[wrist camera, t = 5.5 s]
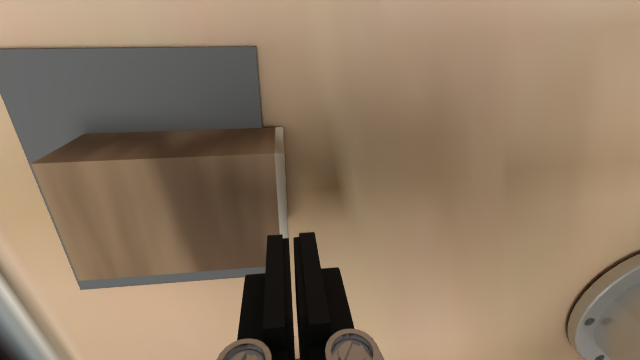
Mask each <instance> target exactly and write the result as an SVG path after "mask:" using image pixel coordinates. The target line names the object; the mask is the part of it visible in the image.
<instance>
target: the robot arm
mask: <svg viewBox="0 0 640 360" xmlns="http://www.w3.org/2000/svg"><path fill="white" fill-rule="evenodd" d="M294 262H295V287H296V307H297V322H298V337H299V351H300V360H384V358H383V356H382V354H381V352H380V350H379V348H378V346H377V344H376V343H375V341H374V340H373V338H372V337H370V336H369V335H368V334H367V333H365V332H363V331H360V330H357V329H354V325H353V321H352V317H351V313H350V309H349V305H348V301H347V297H346V293H345V289H344V285H343V281H342V277H341V273H340V270H339V268H325V269H321V266H320V261H319V255H318V250H317V244H316V238H315V233H314V232H309V233H299V237H295V238H294ZM568 338H569V341H570V344H571V345H572V346H573V347H574V349H575V350H576V351H577V352H578V353H579V354H580V355H581V356H582V357H583V358H584V359H585V360H640V254H638V255H635V256H633V257H631V258H629V259H627V260H625V261H623V262H621V263H620V264H618V265H617V266H615V267H614V268H612V269H611V270H609V271H607V272H606V273H605V274H604V275H602V276H601V277H600V278H599V279H598V280H596V281H595V282H594V283H593V284H592V285H591V286H590V287H589V288H588V289H587V290H586V291H585V293H584V294H583V295H582V296H581V298H580V299H579V301H578V302H577V303H576V305H575V307H574V309H573V311H572V313H571V315H570V319H569V323H568ZM217 360H295V351H294V329H293V310H292V291H291V272H290V253H289V238H283V234H279V235H267V249H266V270H265V273H261V274H248V275H246V276H245V282H244V290H243V298H242V306H241V314H240V322H239V330H238V338H237V341H235V342H233V343H231V344H230V345H228V346H227V347H226V348H225V349H224V350H223V351H222V352H221V353H220V354H219V356H218V358H217Z"/></svg>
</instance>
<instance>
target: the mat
mask: <svg viewBox="0 0 640 360" xmlns="http://www.w3.org/2000/svg"><path fill="white" fill-rule="evenodd" d="M0 94H1V96H2V99H3V101H4V104H5V106H6V109H7V111H8V113H9V116H10V118H11V121H12V123H13V126H14V128H15V131H16V133H17V135H18V138H19V140H20V143H21V145H22V148H23V150H24V153H25V155H26V157H27V160H28V162H29V165H30V167H31V170H32V172H33V175H34V177H35V179H36V182H37V184H38V187H39V189H40V192H41V194H42V197H43V199H44V202H45V204H46V206H47V209H48V211H49V214H50V216H51V219H52V221H53V224H54V226H55V228H56V231H57V233H58V236H59V238H60V241H61V243H62V246H63V248H64V250H65V253H66V255H67V258H68V260H69V263H70V265H71V268H72V270H73V272H74V275H75V277H76V280H77V282H78V285H79V287H80V290H84V289H97V288H110V287H123V286H136V285H149V284H162V283H175V282H187V281H200V280H213V279H226V278H239V277H245V276H246V275H248V274H261V273H265V270H266V267H255V268H242V269H229V270H215V271H202V272H189V273H176V274H162V275H149V276H136V277H123V278H109V279H96V280H83V281H78V279H77V276H76V274H75V271H74V269H73V266H72V264H71V261H70V259H69V256H68V254H67V251H66V249H65V246H64V244H63V242H62V239H61V237H60V234H59V232H58V229H57V227H56V224H55V222H54V219H53V217H52V214H51V212H50V210H49V207H48V205H47V202H46V200H45V197H44V195H43V192H42V190H41V187H40V185H39V182H38V180H37V178H36V175H35V173H34V170H33V168H32V165H31V163H33V162H35V161H37V160H39V159H40V158H42V157H44V156H46V155H47V154H49V153H51V152H53V151H55V150H56V149H58V148H60V147H62V146H63V145H65V144H67V143H69V142H71V141H72V140H74V139H76V138H78V137H79V136H81V135H83V134H92V133H122V132H151V131H180V130H209V129H239V128H263V126H262V114H261V101H260V89H259V76H258V64H257V51H256V46H234V47H139V48H44V49H0Z"/></svg>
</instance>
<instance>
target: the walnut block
mask: <svg viewBox="0 0 640 360" xmlns="http://www.w3.org/2000/svg"><path fill="white" fill-rule="evenodd" d="M31 165H32V168H33V170H34V173H35V175H36V178H37V180H38V182H39V185H40V187H41V190H42V192H43V195H44V197H45V200H46V202H47V205H48V207H49V210H50V212H51V214H52V217H53V219H54V222H55V224H56V227H57V229H58V232H59V234H60V237H61V239H62V242H63V244H64V246H65V249H66V251H67V254H68V256H69V259H70V261H71V264H72V266H73V269H74V271H75V274H76V276H77V279H78V281H83V280H96V279H109V278H123V277H136V276H149V275H162V274H176V273H189V272H202V271H215V270H229V269H242V268H255V267H266V249H267V235H279V234H283V238H289V234H288V213H287V194H286V175H285V156H284V138H283V127H266V128H239V129H209V130H180V131H151V132H122V133H92V134H83V135H81V136H79V137H78V138H76V139H74V140H72V141H71V142H69V143H67V144H65V145H63V146H62V147H60V148H58V149H56V150H55V151H53V152H51V153H49V154H47V155H46V156H44V157H42V158H40V159H39V160H37V161H35V162H33V163H31Z"/></svg>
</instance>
